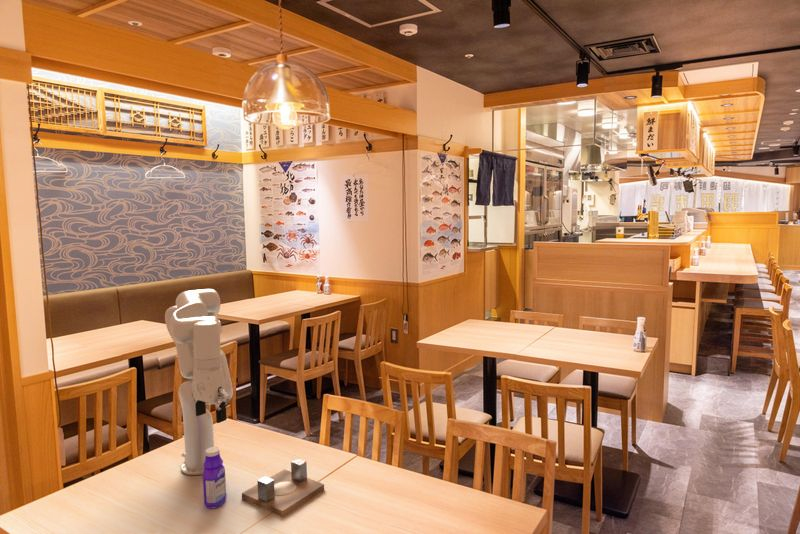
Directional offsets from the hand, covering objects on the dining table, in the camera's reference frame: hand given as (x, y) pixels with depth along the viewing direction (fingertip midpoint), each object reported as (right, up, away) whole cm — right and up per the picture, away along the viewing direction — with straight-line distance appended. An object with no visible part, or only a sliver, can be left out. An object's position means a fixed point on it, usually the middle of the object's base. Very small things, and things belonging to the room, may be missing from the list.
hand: (211, 418), depth 162 cm
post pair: (+20, -24, +8) cm, 33 cm away
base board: (+20, -26, +8) cm, 34 cm away
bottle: (0, -27, +3) cm, 28 cm away
